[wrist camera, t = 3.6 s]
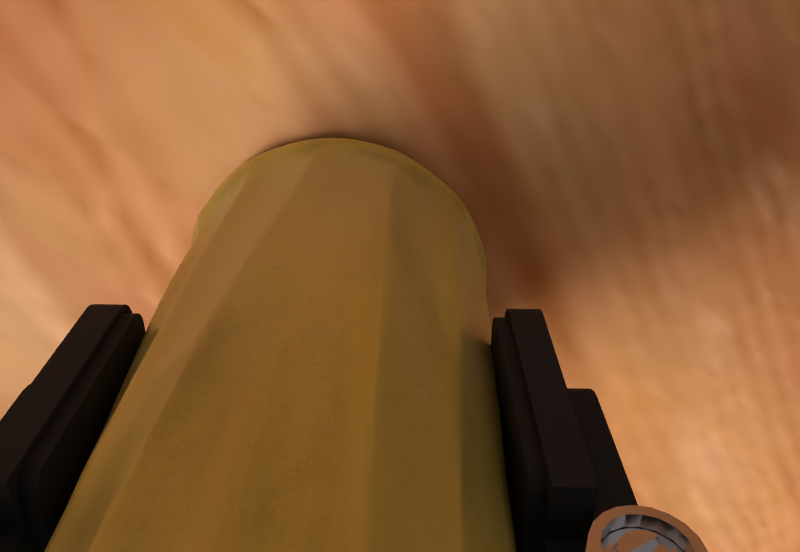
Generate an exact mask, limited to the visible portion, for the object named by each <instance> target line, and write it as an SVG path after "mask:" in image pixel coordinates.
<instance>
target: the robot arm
mask: <svg viewBox="0 0 800 552" xmlns="http://www.w3.org/2000/svg"><path fill="white" fill-rule="evenodd" d="M144 335H145V327H144V322H143V318H142V316H141V315H140V314H132V311H131V309H130V307H129V306H127V305H107V304H93V305H90V306H89V307H87V309H86V310H85V311H84V313H83V314H82V315H81V317H80V318H79V319H78V321H77V322H76V323H75V325H74V326H73V328H72V329H71V330H70V332H69V333H68V334H67V336H66V337H65V338H64V340H63V341H62V343H61V344H60V345H59V347H58V348H57V349H56V351H55V352H54V353H53V355H52V356H51V357H50V359H49V360H48V362H47V363H46V364H45V366H44V367H43V368H42V370H41V371H40V372H39V374H38V375H37V376H36V378H35V379H34V381H33V382H32V383H31V384H30V385H28V386H27V387H26V388H25V389H24V390H23V391H22V392H21V394H20V395H19V396H18V398H17V399H16V400H15V402H14V403H13V404H12V406H11V407H10V409H9V410H8V411H7V413H6V414H5V415H4V417H3V418H2V419H1V421H0V552H44V551H45V549H46V547H47V545H48V543H49V541H50V539H51V537H52V535H53V533H54V531H55V529H56V527H57V525H58V523H59V521H60V519H61V517H62V515H63V513H64V511H65V509H66V507H67V504H68V502H69V500H70V498H71V496H72V493H73V491H74V489H75V487H76V484H77V482H78V480H79V478H80V475H81V473H82V471H83V469H84V467H85V465H86V463H87V461H88V459H89V457H90V455H91V453H92V451H93V449H94V447H95V445H96V443H97V441H98V439H99V437H100V435H101V432H102V430H103V428H104V426H105V423H106V421H107V419H108V417H109V414H110V412H111V410H112V407H113V405H114V403H115V401H116V398H117V396H118V394H119V391H120V389H121V387H122V385H123V382H124V380H125V378H126V375H127V373H128V371H129V369H130V366H131V364H132V362H133V360H134V357H135V355H136V353H137V350H138V348H139V346H140V344H141V342H142V339H143V337H144ZM491 350H492V356H493V362H494V369H495V374H496V381H497V388H498V396H499V405H500V414H501V425H502V437H503V448H504V458H505V469H506V477H507V485H508V492H509V499H510V506H511V512H512V518H513V525H514V532H515V539H516V546H517V552H708V550H707V549H706V547H705V546H704V544H703V542H702V541H701V539H700V538H699V536H698V535H697V534H696V533H695V532H694V531H692V530H691V529H690V528H689V527H688V526H687V525H686V524H685V523H683V522H682V521H680V520H678V519H677V518H675V517H673V516H672V515H670V514H668V513H665V512H662V511H660V510H657V509H654V508H651V507H644V506H638V504H637V502H636V499H635V496H634V494H633V491H632V489H631V486H630V483H629V481H628V478H627V475H626V473H625V470H624V467H623V465H622V462H621V459H620V457H619V454H618V451H617V449H616V446H615V443H614V441H613V438H612V435H611V433H610V430H609V427H608V425H607V422H606V419H605V417H604V414H603V411H602V409H601V406H600V403H599V401H598V398H597V396H596V394H595V392H594V391H593V390H592V389H570V388H567V387H566V384H565V381H564V378H563V374H562V371H561V368H560V365H559V362H558V359H557V356H556V353H555V350H554V347H553V344H552V340H551V337H550V334H549V331H548V328H547V325H546V322H545V319H544V316H543V313H542V311H541V310H540V309H507V310H506V312H505V318H495V317H494V319H493V324H492V335H491Z"/></svg>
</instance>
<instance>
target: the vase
mask: <svg viewBox="0 0 800 552" xmlns="http://www.w3.org/2000/svg"><path fill="white" fill-rule="evenodd" d="M486 279H487V261H486V257H485V252H484V248H483V243H482V241H481V238H480V235H479V233H478V230H477V228H476V225H475V223H474V221H473V219H472V217H471V216H470V214H469V212H468V210H467V208H466V206H465V205H464V204H463V202H462V201H461V200H460V198H459V197H458V196H457V195H456V193H455V192H454V191H453V190H452V189H451V188H449V187H448V186H447V185H446V184H445V183H444V182H443V181H442V180H440V179H439V178H438V177H437V176H435V175H434V174H433V173H431V172H430V171H429V170H428V169H426V168H425V167H423V166H422V165H420V164H419V163H417V162H416V161H414V160H413V159H412V158H410V157H408V156H406V155H404V154H403V153H401V152H399V151H397V150H394V149H391V148H388V147H385V146H382V145H378V144H374V143H370V142H366V141H360V140H355V139H349V138H317V139H308V140H303V141H298V142H294V143H290V144H287V145H284V146H280V147H277V148H274V149H272V150H269V151H266V152H264V153H261V154H260V155H258V156H256V157H254V158H252V159H250V160H249V161H247V162H246V163H245V164H243V165H242V166H240V167H239V168H238V169H237V170H236V171H235V172H233V173H232V174H231V175H230V176H229V177H228V178H227V179H226V180H225V181H224V182H223V183H222V184H221V185H220V187H219V188H218V189H217V190H216V191H215V193H214V194H213V196H212V197H211V199H210V200H209V202H208V203H207V204H206V206H205V207H204V208H203V210H202V211H201V213H200V214H199V217H198V220H197V223H196V225H195V229H194V233H193V237H192V243H191V248H190V250H189V251H188V253H187V254H186V256H185V257H184V259H183V261H182V262H181V264H180V266H179V268H178V270H177V271H176V273H175V275H174V277H173V279H172V280H171V282H170V284H169V286H168V288H167V290H166V291H165V293H164V295H163V297H162V299H161V301H160V303H159V305H158V307H157V309H156V311H155V313H154V315H153V318H152V320H151V322H150V324H149V326H148V328H147V331H146V333H145V335H144V337H143V339H142V342H141V344H140V346H139V348H138V350H137V353H136V355H135V357H134V360H133V362H132V364H131V366H130V369H129V371H128V373H127V375H126V378H125V380H124V382H123V385H122V387H121V389H120V391H119V394H118V396H117V398H116V401H115V403H114V405H113V407H112V410H111V412H110V414H109V417H108V419H107V421H106V423H105V426H104V428H103V430H102V432H101V435H100V437H99V439H98V441H97V443H96V445H95V447H94V449H93V451H92V453H91V455H90V457H89V459H88V461H87V463H86V465H85V467H84V469H83V471H82V473H81V475H80V478H79V480H78V482H77V484H76V487H75V489H74V491H73V493H72V496H71V498H70V500H69V502H68V504H67V507H66V509H65V511H64V513H63V515H62V517H61V519H60V521H59V523H58V525H57V527H56V529H55V531H54V533H53V535H52V537H51V539H50V541H49V543H48V545H47V547H46V549H45V551H44V552H517V546H516V539H515V532H514V525H513V518H512V512H511V506H510V499H509V492H508V485H507V477H506V469H505V458H504V448H503V437H502V425H501V414H500V405H499V396H498V388H497V381H496V374H495V369H494V362H493V356H492V350H491V335H492V330H491V324H490V319H489V313H488V306H487V298H486Z"/></svg>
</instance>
